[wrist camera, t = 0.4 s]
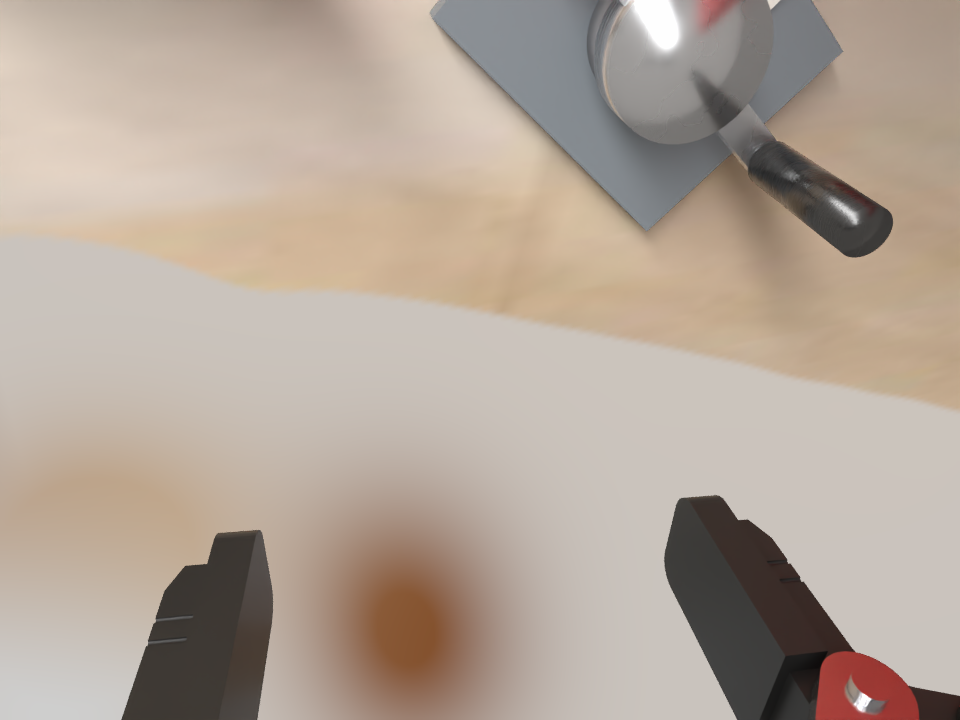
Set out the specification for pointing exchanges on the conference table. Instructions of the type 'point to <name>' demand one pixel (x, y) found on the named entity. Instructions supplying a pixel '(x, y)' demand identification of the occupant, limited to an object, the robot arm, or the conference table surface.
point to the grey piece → (722, 103)
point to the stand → (581, 108)
